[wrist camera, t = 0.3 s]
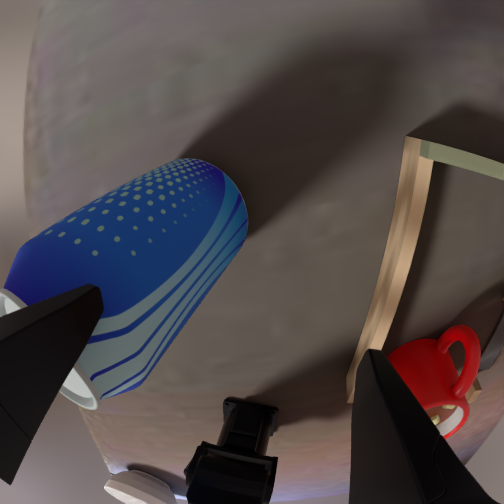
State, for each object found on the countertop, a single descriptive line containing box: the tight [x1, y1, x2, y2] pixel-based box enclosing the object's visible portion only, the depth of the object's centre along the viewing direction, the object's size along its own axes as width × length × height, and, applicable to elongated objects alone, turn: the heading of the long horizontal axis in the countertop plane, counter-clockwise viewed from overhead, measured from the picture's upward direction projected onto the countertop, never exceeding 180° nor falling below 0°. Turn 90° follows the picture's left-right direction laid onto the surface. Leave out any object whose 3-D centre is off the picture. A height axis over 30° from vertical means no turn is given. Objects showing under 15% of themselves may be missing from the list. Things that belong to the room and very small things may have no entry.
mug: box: [387, 325, 481, 439], centre depth 22 cm, size 8×12×8 cm, turn 167°
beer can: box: [0, 158, 248, 410], centre depth 16 cm, size 8×8×16 cm
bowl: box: [104, 470, 177, 504], centre depth 53 cm, size 19×19×9 cm
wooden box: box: [346, 136, 504, 403], centre depth 19 cm, size 23×18×5 cm
